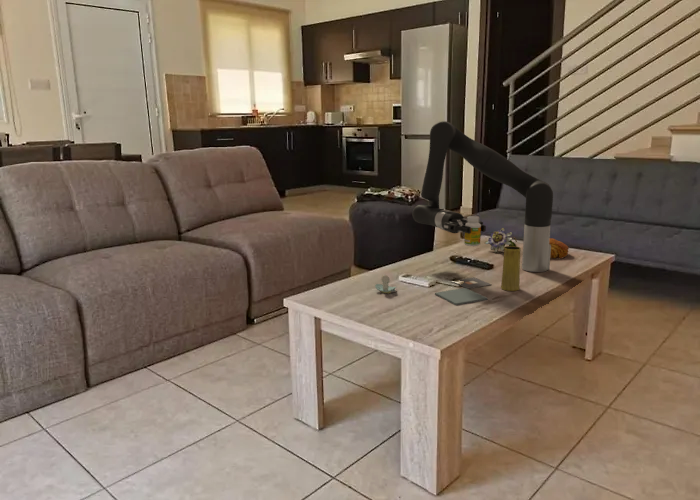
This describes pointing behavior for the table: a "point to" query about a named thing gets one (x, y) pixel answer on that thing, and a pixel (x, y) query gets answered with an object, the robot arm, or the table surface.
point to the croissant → (558, 249)
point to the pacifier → (385, 285)
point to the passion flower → (500, 240)
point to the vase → (511, 268)
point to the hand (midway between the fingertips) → (477, 229)
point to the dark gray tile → (473, 283)
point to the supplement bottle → (473, 231)
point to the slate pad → (460, 296)
